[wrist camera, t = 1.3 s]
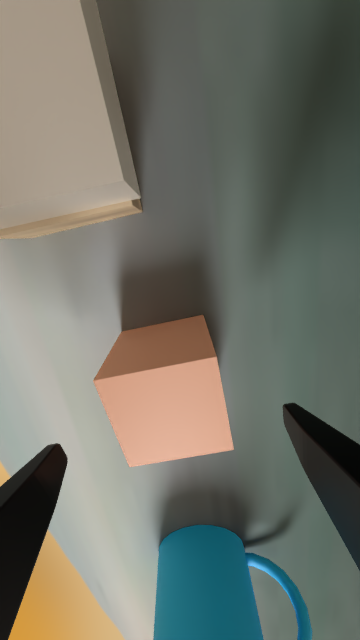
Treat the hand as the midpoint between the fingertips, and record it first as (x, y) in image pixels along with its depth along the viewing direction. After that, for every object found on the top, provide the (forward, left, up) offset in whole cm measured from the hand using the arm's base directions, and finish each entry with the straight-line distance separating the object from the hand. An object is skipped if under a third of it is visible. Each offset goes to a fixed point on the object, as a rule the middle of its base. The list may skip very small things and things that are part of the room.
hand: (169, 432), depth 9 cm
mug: (+15, +15, -6) cm, 22 cm away
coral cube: (0, 0, -6) cm, 6 cm away
